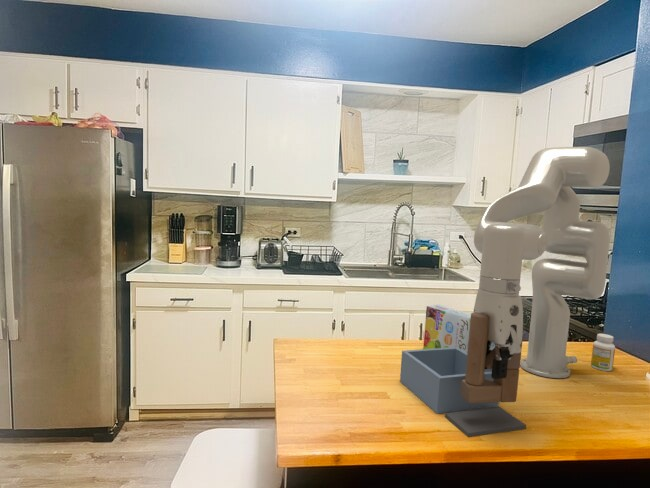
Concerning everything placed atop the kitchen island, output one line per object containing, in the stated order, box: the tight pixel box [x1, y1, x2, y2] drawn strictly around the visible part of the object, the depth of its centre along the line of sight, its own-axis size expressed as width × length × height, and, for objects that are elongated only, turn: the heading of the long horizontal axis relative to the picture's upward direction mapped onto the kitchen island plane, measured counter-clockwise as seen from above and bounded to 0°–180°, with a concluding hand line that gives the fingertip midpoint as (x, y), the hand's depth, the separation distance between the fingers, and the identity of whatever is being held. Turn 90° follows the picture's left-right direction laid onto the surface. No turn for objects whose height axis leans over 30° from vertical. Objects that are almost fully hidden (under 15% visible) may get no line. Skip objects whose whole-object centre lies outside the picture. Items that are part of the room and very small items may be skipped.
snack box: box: [422, 304, 495, 353], centre depth 123 cm, size 21×6×15 cm, turn 34°
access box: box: [399, 347, 500, 415], centre depth 103 cm, size 16×17×8 cm
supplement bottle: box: [590, 333, 616, 372], centre depth 125 cm, size 5×5×10 cm
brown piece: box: [460, 311, 524, 403], centre depth 88 cm, size 4×11×18 cm, turn 100°
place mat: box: [444, 406, 527, 438], centre depth 90 cm, size 14×8×1 cm, turn 108°
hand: (490, 372), depth 89 cm, fingers closed on brown piece, 4 cm apart
